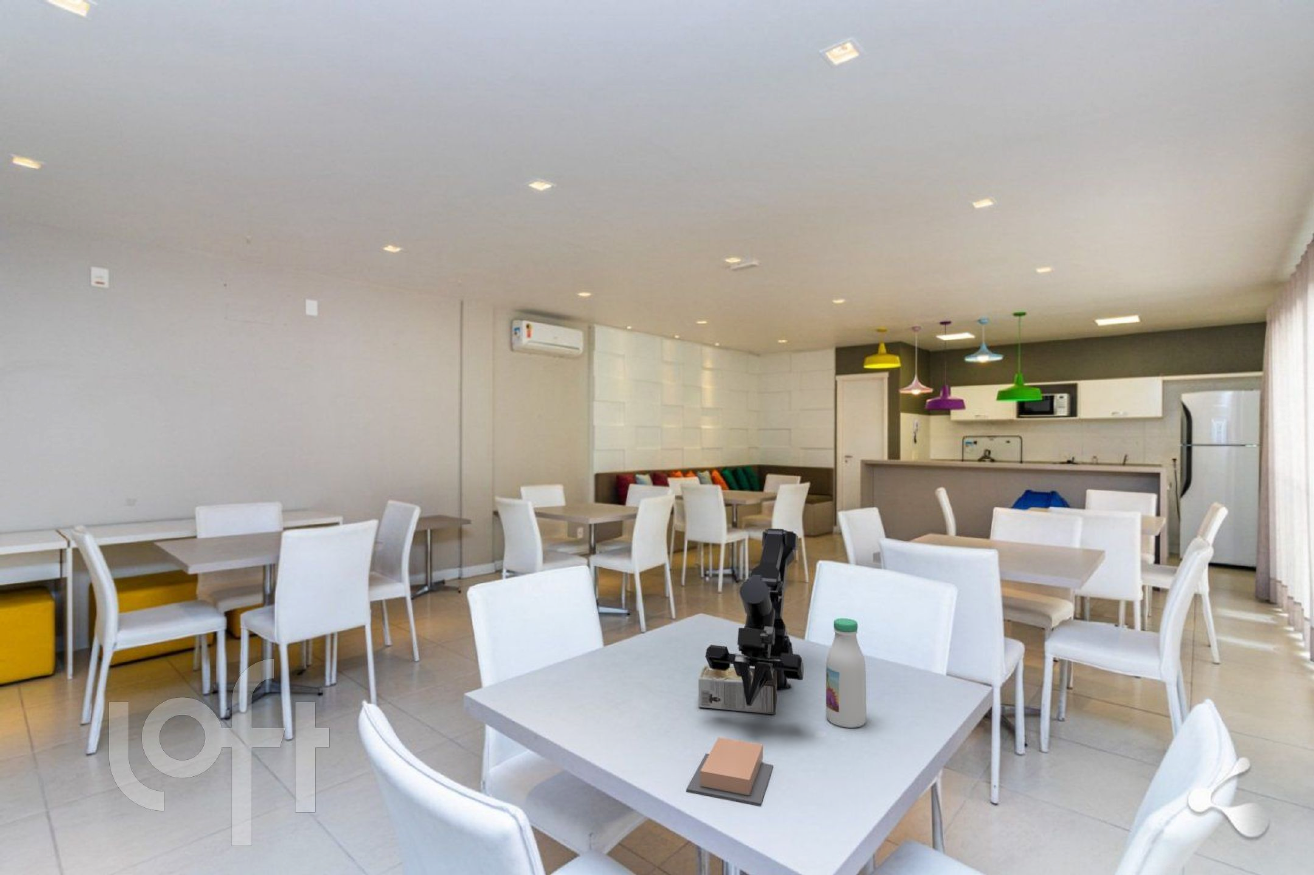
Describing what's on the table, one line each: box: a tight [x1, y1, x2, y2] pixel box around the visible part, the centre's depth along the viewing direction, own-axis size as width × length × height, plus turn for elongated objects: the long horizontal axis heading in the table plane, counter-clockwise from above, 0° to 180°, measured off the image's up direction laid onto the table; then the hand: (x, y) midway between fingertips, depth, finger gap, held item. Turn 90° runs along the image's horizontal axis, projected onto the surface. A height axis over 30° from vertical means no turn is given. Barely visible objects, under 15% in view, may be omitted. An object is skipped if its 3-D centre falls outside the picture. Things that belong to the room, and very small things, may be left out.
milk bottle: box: [825, 617, 867, 729], centre depth 125 cm, size 8×8×20 cm
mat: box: [685, 753, 774, 807], centre depth 104 cm, size 12×12×1 cm
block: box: [700, 737, 764, 796], centre depth 105 cm, size 3×8×12 cm
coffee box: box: [698, 664, 778, 715], centre depth 133 cm, size 9×6×16 cm
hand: (748, 704), depth 118 cm, fingers closed
